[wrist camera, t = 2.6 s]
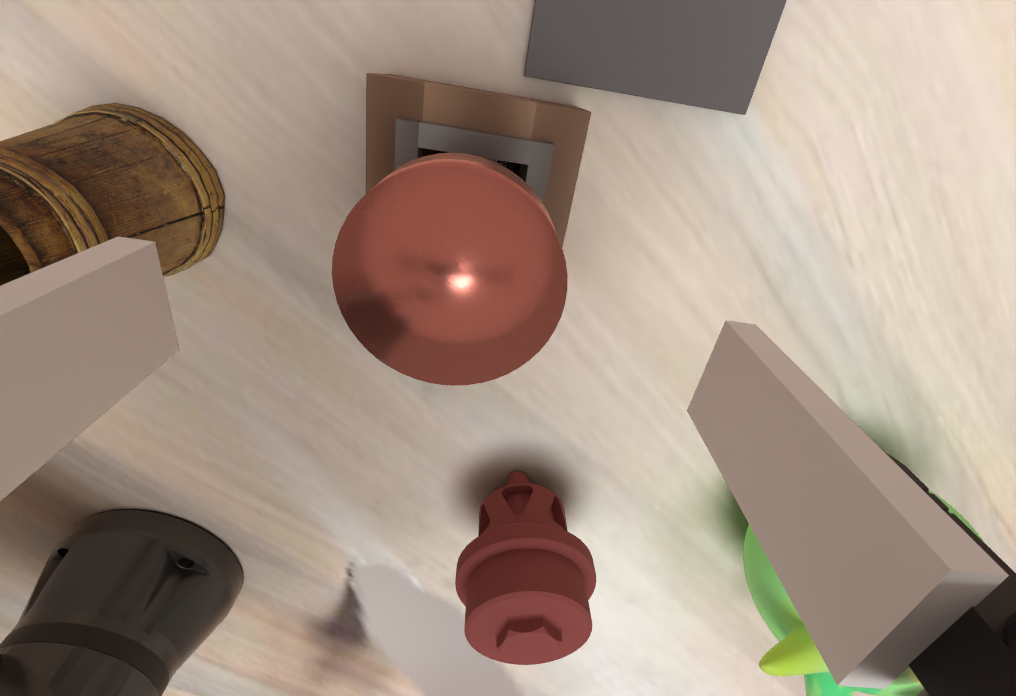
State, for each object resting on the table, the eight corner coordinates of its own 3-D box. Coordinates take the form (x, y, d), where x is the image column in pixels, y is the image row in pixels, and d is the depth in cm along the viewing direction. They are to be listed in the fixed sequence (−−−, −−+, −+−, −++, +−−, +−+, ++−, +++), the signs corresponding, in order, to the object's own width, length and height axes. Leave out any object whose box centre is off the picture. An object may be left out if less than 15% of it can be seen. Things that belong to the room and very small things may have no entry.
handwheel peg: (410, 236, 29) (335, 372, 16) (416, 110, 26) (327, 145, 12) (522, 252, 30) (543, 396, 16) (543, 131, 26) (592, 187, 13)
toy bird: (927, 522, 43) (1108, 708, 30) (752, 593, 48) (845, 779, 35) (869, 394, 36) (1076, 569, 23) (670, 493, 41) (749, 683, 28)
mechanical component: (473, 542, 43) (452, 461, 38) (582, 530, 43) (575, 447, 38) (465, 695, 32) (435, 610, 28) (610, 682, 32) (606, 593, 27)
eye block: (384, 256, 30) (360, 294, 24) (389, 74, 25) (360, 73, 20) (541, 277, 31) (550, 318, 25) (575, 106, 26) (595, 113, 20)
